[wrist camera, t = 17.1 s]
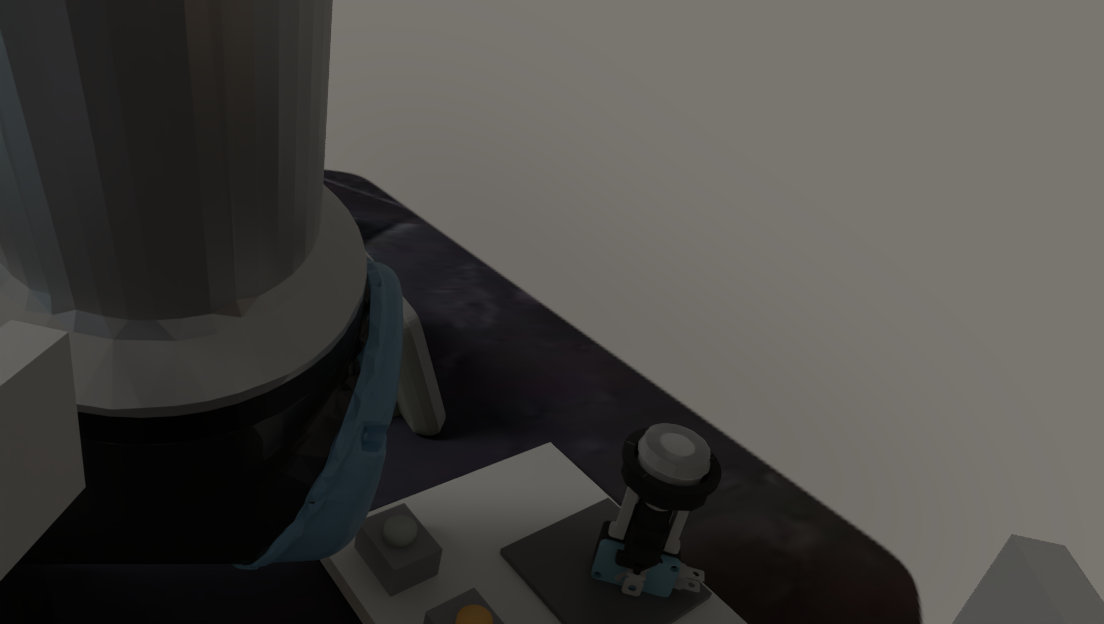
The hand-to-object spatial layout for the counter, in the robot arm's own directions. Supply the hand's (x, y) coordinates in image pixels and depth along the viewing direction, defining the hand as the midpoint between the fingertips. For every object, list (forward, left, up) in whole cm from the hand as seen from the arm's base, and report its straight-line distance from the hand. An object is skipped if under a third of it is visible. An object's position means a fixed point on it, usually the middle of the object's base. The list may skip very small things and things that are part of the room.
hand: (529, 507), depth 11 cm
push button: (-11, +24, -27) cm, 37 cm away
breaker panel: (-13, +19, -28) cm, 36 cm away
